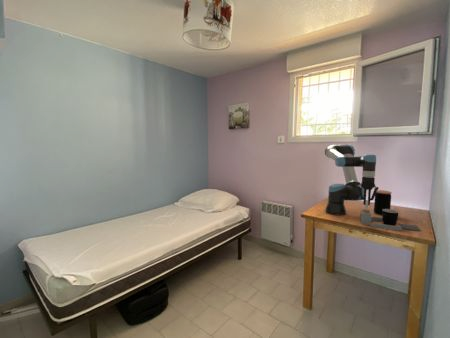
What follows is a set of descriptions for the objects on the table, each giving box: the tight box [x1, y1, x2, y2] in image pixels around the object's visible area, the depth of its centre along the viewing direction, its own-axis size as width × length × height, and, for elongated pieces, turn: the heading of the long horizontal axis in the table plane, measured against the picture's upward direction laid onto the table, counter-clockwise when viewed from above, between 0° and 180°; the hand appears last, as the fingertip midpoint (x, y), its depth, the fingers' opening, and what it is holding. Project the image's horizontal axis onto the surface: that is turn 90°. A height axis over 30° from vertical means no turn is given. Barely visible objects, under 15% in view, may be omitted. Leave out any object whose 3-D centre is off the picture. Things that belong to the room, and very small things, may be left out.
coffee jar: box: [373, 189, 392, 216], centre depth 180 cm, size 11×11×18 cm
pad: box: [398, 222, 422, 232], centre depth 151 cm, size 10×10×1 cm
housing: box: [359, 208, 403, 232], centre depth 157 cm, size 22×16×8 cm
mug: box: [381, 208, 399, 226], centre depth 155 cm, size 12×9×10 cm
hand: (366, 209), depth 161 cm, fingers closed
